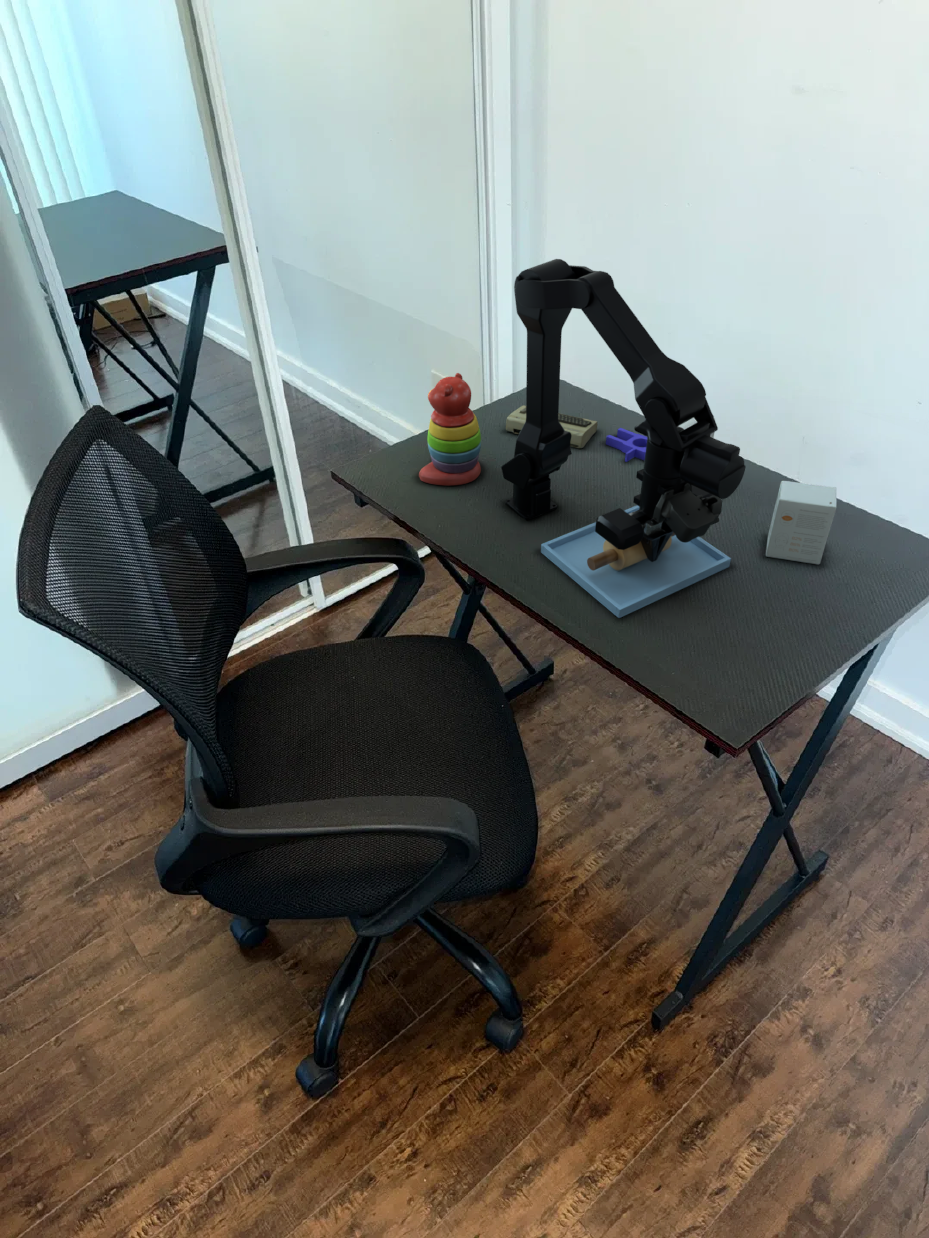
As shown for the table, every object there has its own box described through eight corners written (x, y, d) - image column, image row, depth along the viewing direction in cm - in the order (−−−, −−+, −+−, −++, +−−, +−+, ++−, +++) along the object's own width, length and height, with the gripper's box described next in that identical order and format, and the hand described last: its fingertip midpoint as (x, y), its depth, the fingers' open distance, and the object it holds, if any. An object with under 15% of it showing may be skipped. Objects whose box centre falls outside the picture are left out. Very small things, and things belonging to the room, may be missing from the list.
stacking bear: (443, 452, 154) (437, 361, 142) (492, 463, 150) (490, 370, 138) (414, 480, 146) (406, 386, 135) (465, 493, 143) (462, 397, 131)
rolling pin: (579, 569, 125) (581, 542, 121) (668, 531, 131) (672, 504, 128) (600, 586, 121) (603, 559, 118) (690, 546, 128) (695, 519, 125)
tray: (540, 552, 129) (541, 544, 128) (645, 509, 137) (646, 501, 136) (618, 618, 117) (619, 609, 116) (729, 566, 125) (731, 558, 124)
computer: (597, 430, 158) (599, 414, 156) (581, 450, 152) (582, 433, 150) (523, 414, 164) (523, 399, 162) (505, 432, 158) (505, 417, 156)
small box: (820, 545, 128) (838, 486, 121) (819, 566, 124) (838, 507, 117) (766, 536, 130) (781, 479, 123) (764, 557, 126) (779, 498, 119)
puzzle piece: (627, 430, 157) (628, 422, 156) (682, 450, 151) (683, 442, 150) (596, 449, 152) (597, 442, 151) (651, 472, 146) (652, 463, 145)
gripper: (652, 517, 104) (639, 611, 114) (758, 473, 111) (737, 565, 121) (596, 479, 111) (589, 571, 121) (700, 440, 118) (684, 529, 128)
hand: (651, 560), depth 123 cm, fingers closed, pressing on rolling pin
